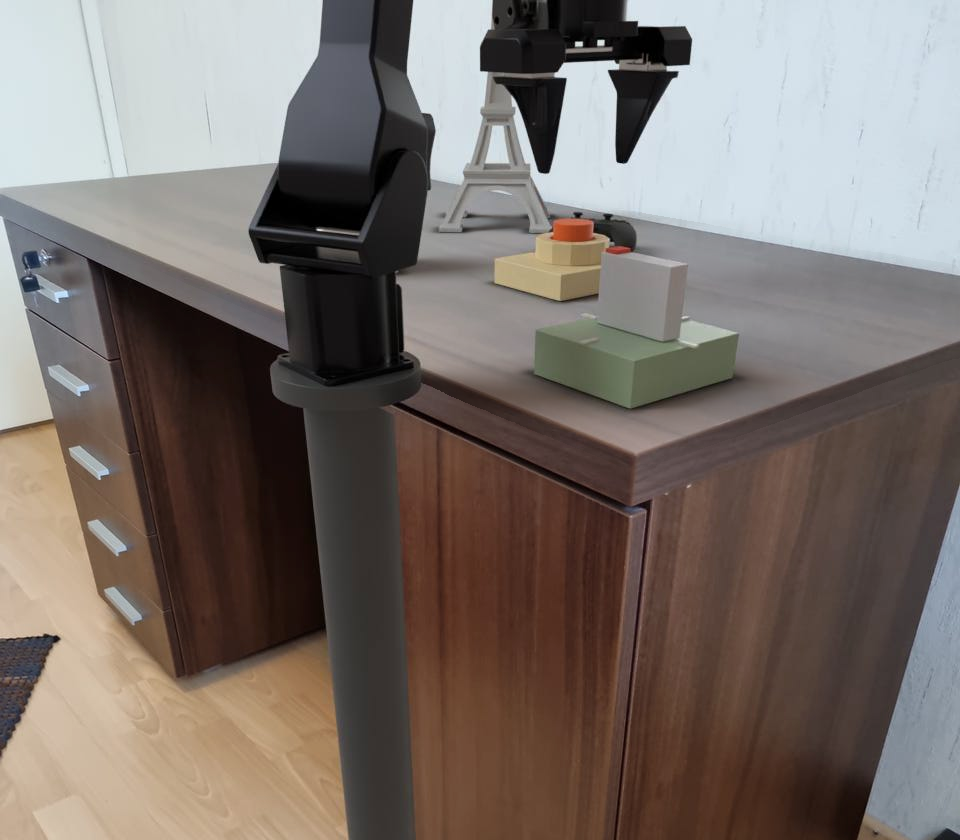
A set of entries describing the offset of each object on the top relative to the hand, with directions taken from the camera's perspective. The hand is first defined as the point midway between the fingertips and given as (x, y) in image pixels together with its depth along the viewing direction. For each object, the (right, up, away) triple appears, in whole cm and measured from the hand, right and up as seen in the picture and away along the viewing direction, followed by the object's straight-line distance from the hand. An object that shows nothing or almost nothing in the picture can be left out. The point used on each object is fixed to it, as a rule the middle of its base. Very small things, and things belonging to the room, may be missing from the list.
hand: (583, 168), depth 79 cm
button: (-1, -4, +5) cm, 6 cm away
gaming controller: (+3, +1, +20) cm, 20 cm away
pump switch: (-1, -7, +6) cm, 10 cm away
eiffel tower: (-7, +11, +35) cm, 37 cm away
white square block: (+1, -20, -18) cm, 27 cm away
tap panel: (+1, -23, -17) cm, 28 cm away
